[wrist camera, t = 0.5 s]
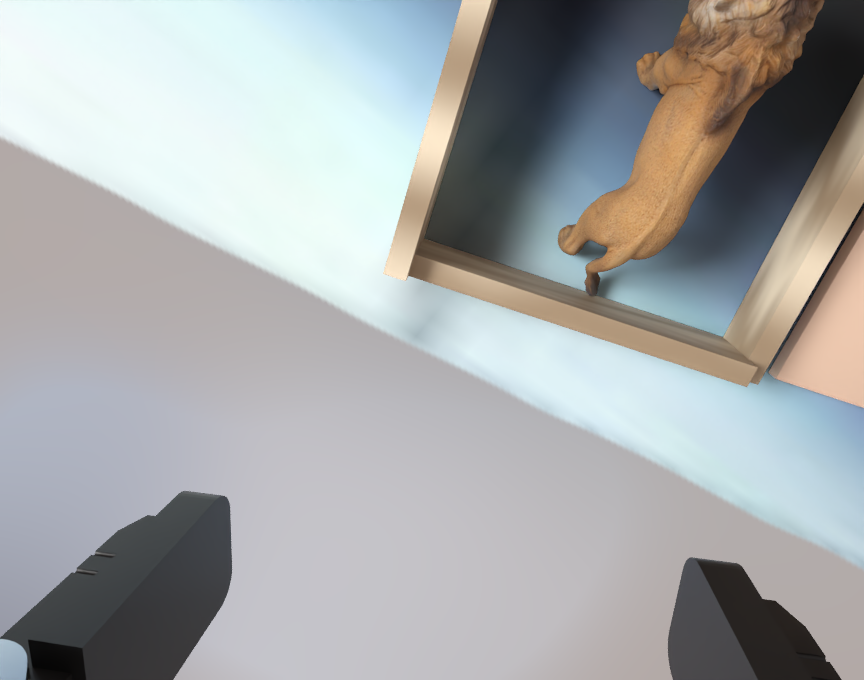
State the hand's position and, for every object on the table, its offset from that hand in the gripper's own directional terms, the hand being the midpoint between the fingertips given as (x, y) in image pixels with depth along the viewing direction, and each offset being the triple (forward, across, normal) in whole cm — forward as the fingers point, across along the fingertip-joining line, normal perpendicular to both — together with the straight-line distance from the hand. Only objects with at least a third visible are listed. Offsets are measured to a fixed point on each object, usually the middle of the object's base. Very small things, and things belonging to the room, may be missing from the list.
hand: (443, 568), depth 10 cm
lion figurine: (+20, -6, -9) cm, 23 cm away
